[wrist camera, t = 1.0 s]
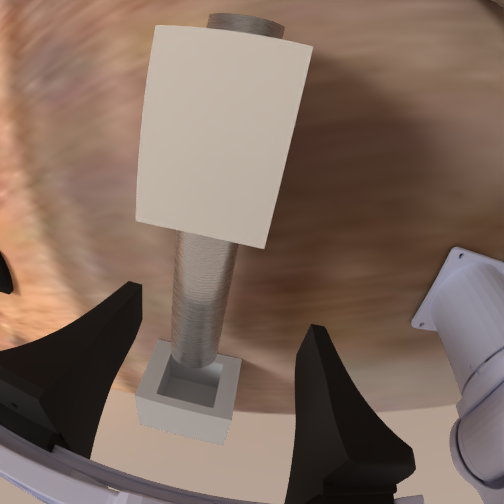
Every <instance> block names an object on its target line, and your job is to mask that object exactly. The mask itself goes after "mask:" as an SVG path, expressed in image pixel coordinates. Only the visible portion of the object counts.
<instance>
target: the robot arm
mask: <svg viewBox="0 0 504 504" xmlns="http://www.w3.org/2000/svg"><path fill="white" fill-rule="evenodd" d="M460 254H462V255H461V256H459V255H460ZM141 322H142V285H141V284H138V283H134V282H130V281H129V282H127V283H126V284H124V285H123V286H122V287H121V288H119V289H118V290H117V291H115V292H114V293H113V294H112V295H110V296H109V297H108V298H107V299H105V300H104V301H103V302H101V303H100V304H99V305H97V306H96V307H95V308H93V309H92V310H90V311H89V312H87V313H86V314H84V315H83V316H81V317H80V318H78V319H77V320H75V321H74V322H72V323H70V324H69V325H67V326H65V327H63V328H62V329H60V330H58V331H56V332H54V333H51V334H49V335H47V336H45V337H43V338H41V339H38V340H35V341H33V342H30V343H27V344H24V345H21V346H18V347H15V348H11V349H7V350H3V351H0V476H1V477H3V478H5V479H6V480H7V481H9V482H11V483H12V484H14V485H15V486H17V487H19V488H20V489H22V490H23V491H25V492H27V493H28V494H30V495H32V496H34V497H35V498H37V499H39V500H41V501H43V502H45V503H46V504H267V503H258V502H250V501H242V500H235V499H229V498H223V497H217V496H212V495H207V494H202V493H197V492H192V491H188V490H183V489H179V488H175V487H171V486H167V485H164V484H160V483H156V482H153V481H149V480H146V479H143V478H140V477H136V476H133V475H130V474H127V473H124V472H121V471H119V470H116V469H113V468H110V467H107V466H105V465H102V464H99V463H97V462H94V461H92V460H90V456H91V452H92V447H93V443H94V439H95V435H96V432H97V428H98V425H99V421H100V418H101V415H102V411H103V408H104V405H105V402H106V399H107V396H108V393H109V391H110V388H111V386H112V383H113V381H114V379H115V377H116V375H117V373H118V371H119V369H120V367H121V365H122V363H123V361H124V359H125V357H126V355H127V354H128V352H129V350H130V348H131V346H132V344H133V342H134V340H135V338H136V335H137V333H138V330H139V327H140V325H141ZM421 323H422V324H421ZM411 325H412V327H413V328H418V329H424V330H430V331H437V332H438V334H439V336H440V339H441V341H442V344H443V346H444V349H445V351H446V354H447V356H448V359H449V361H450V364H451V367H452V369H453V372H454V375H455V378H456V380H457V383H458V386H459V389H460V392H461V395H462V399H461V400H460V401H459V402H458V403H457V404H456V408H457V411H458V414H459V419H457V421H456V422H455V423H454V425H453V427H452V429H451V432H450V452H451V456H452V460H453V463H454V465H455V467H456V469H457V471H458V472H459V473H460V475H461V476H462V477H463V478H464V479H465V480H466V481H467V482H469V483H470V484H471V485H472V486H473V487H474V488H475V489H476V490H477V491H478V493H479V494H480V496H481V498H482V500H483V502H484V504H504V262H502V261H499V260H496V259H494V258H491V257H488V256H485V255H482V254H479V253H476V252H473V251H469V250H466V249H463V248H460V247H454V248H453V249H452V250H451V251H450V253H449V255H448V257H447V259H446V261H445V263H444V265H443V267H442V269H441V271H440V272H439V274H438V276H437V278H436V280H435V282H434V283H433V285H432V287H431V289H430V291H429V292H428V294H427V296H426V298H425V299H424V301H423V303H422V304H421V306H420V308H419V309H418V311H417V313H416V314H415V316H414V318H413V319H412V321H411ZM295 409H296V429H295V441H294V449H293V457H292V465H291V471H290V477H289V483H288V489H287V494H286V499H285V503H284V504H424V498H423V495H417V496H409V497H401V498H397V499H394V496H393V494H394V493H396V492H397V486H396V484H398V483H399V482H401V481H403V480H404V479H406V478H408V477H409V476H410V475H411V474H413V472H414V471H415V470H416V466H415V459H414V454H413V450H412V448H411V447H410V446H409V445H407V444H406V443H405V442H404V441H403V440H401V439H400V438H399V437H398V436H397V435H396V434H395V433H393V431H392V430H391V429H389V428H388V427H387V426H386V424H385V423H384V422H383V421H382V420H381V419H380V418H379V417H378V416H377V414H376V413H375V412H374V411H373V410H372V409H371V407H370V406H369V405H368V403H367V402H366V401H365V399H364V398H363V397H362V395H361V394H360V392H359V391H358V389H357V388H356V386H355V385H354V383H353V381H352V380H351V378H350V376H349V374H348V373H347V371H346V369H345V367H344V365H343V363H342V361H341V359H340V357H339V355H338V353H337V351H336V349H335V347H334V345H333V343H332V341H331V339H330V336H329V334H328V332H327V330H326V328H325V327H324V326H319V325H314V324H311V325H310V327H309V330H308V332H307V334H306V336H305V338H304V340H303V342H302V344H301V347H300V349H299V351H298V353H297V355H296V365H295ZM108 486H109V487H112V488H114V489H117V490H120V491H121V492H118V491H115V490H111V489H108Z"/></svg>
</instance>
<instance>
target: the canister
mask: <svg viewBox="0 0 504 504" xmlns="http://www.w3.org/2000/svg"><path fill="white" fill-rule="evenodd" d="M490 1H493V2H496V3H497V4H498V5H499V6H501V7H503V8H504V0H490Z"/></svg>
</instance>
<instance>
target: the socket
mask: <svg viewBox="0 0 504 504" xmlns="http://www.w3.org/2000/svg"><path fill="white" fill-rule="evenodd" d="M170 348H171V342H168V341H164V340H160V339H158V341H157V344H156V346H155V348H154V351H153V353H152V355H151V358H150V360H149V363H148V365H147V367H146V370H145V372H144V375H143V377H142V380H141V382H140V385H139V387H138V389H137V392H136V394H135V398H136V404H137V410H138V415H139V420H140V424H141V425H145V426H148V427H151V428H155V429H158V430H161V431H165V432H169V433H172V434H176V435H180V436H184V437H188V438H192V439H196V440H201V441H206V442H210V443H215V444H219V445H223V444H224V441H225V438H226V435H227V433H228V430H229V426H230V424H231V420H232V415H233V409H234V403H235V397H236V391H237V386H238V380H239V374H240V368H241V362H242V359H239V358H234V357H230V356H225V355H221V354H217V357H216V359H215V360H214V362H213V363H212V364H210V365H209V366H207V367H204V368H199V369H193V368H188V367H185V366H182V365H181V364H179V363H178V362H177V361H175V359H174V358H173V356H172V354H171V349H170Z"/></svg>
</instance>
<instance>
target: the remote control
mask: <svg viewBox="0 0 504 504" xmlns="http://www.w3.org/2000/svg"><path fill="white" fill-rule="evenodd" d="M12 291H13V284H12V279H11V276H10V272H9V270H8V267H7V265H6V263H5V260H4V258H3V257H2V255H1V253H0V292H3V293H6V294H10V293H11V292H12Z"/></svg>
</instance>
